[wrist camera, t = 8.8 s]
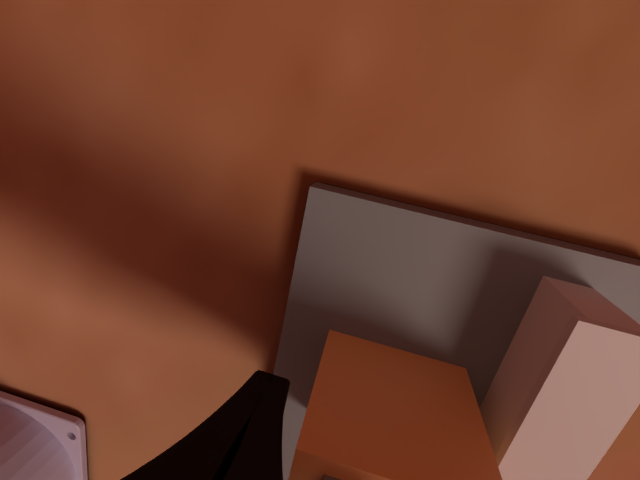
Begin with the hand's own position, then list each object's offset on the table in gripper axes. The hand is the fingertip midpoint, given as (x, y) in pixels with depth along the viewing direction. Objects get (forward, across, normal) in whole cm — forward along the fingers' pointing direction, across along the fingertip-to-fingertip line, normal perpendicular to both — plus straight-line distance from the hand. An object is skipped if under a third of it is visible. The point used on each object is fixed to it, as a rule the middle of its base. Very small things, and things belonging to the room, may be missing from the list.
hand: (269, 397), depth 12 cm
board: (+3, -5, 0) cm, 6 cm away
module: (+2, -4, 0) cm, 4 cm away
